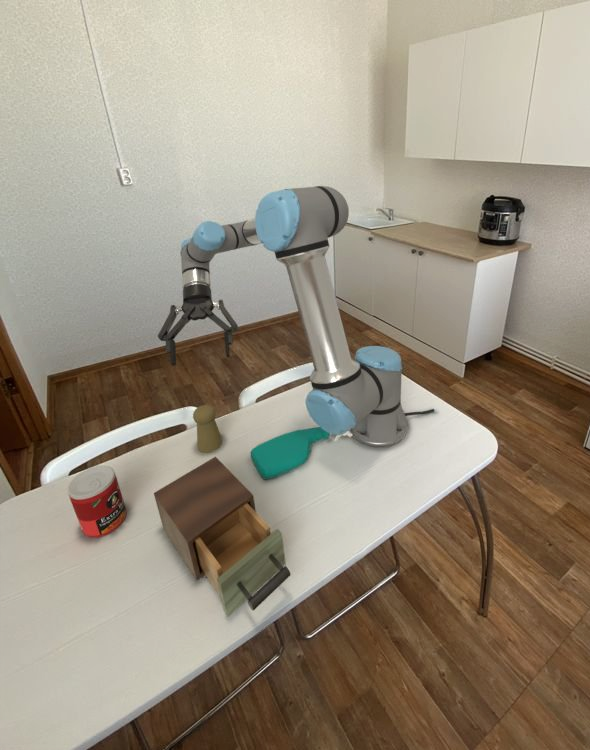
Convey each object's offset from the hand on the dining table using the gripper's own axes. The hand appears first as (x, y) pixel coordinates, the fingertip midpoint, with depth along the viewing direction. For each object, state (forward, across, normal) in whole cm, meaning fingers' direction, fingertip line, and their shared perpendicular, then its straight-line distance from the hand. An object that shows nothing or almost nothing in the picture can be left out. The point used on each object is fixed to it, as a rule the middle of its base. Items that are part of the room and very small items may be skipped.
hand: (201, 360), depth 101 cm
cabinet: (+39, -2, +13) cm, 41 cm away
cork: (+21, 0, -6) cm, 22 cm away
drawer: (+46, -8, +21) cm, 51 cm away
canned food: (+33, +19, +6) cm, 39 cm away
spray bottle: (+27, -23, +1) cm, 36 cm away
